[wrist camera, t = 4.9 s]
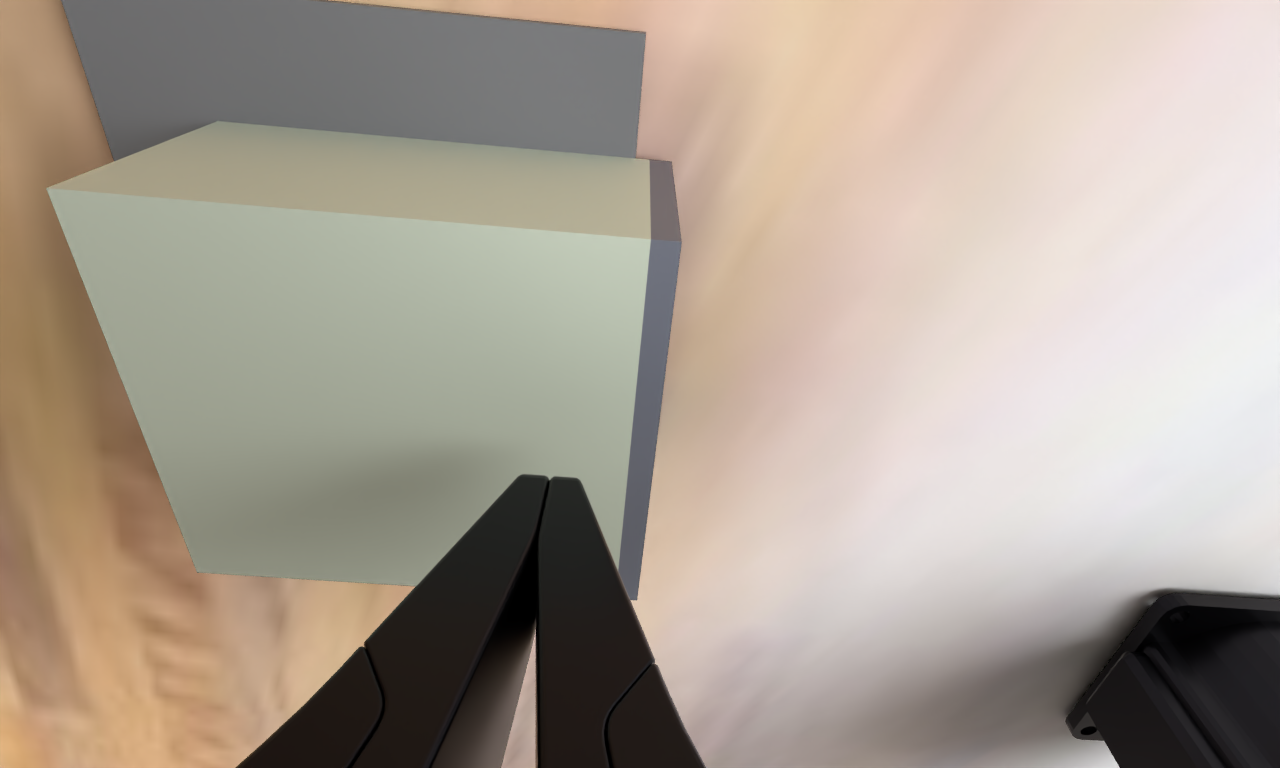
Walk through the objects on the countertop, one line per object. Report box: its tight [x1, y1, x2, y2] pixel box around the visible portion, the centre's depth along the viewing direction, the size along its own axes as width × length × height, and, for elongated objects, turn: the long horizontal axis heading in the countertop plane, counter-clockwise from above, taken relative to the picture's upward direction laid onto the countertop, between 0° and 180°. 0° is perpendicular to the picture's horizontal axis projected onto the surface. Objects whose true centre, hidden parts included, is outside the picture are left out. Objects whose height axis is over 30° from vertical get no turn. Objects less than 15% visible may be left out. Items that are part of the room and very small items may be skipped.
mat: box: [61, 0, 646, 161], centre depth 14 cm, size 9×11×1 cm
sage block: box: [46, 121, 682, 600], centre depth 12 cm, size 4×7×8 cm
